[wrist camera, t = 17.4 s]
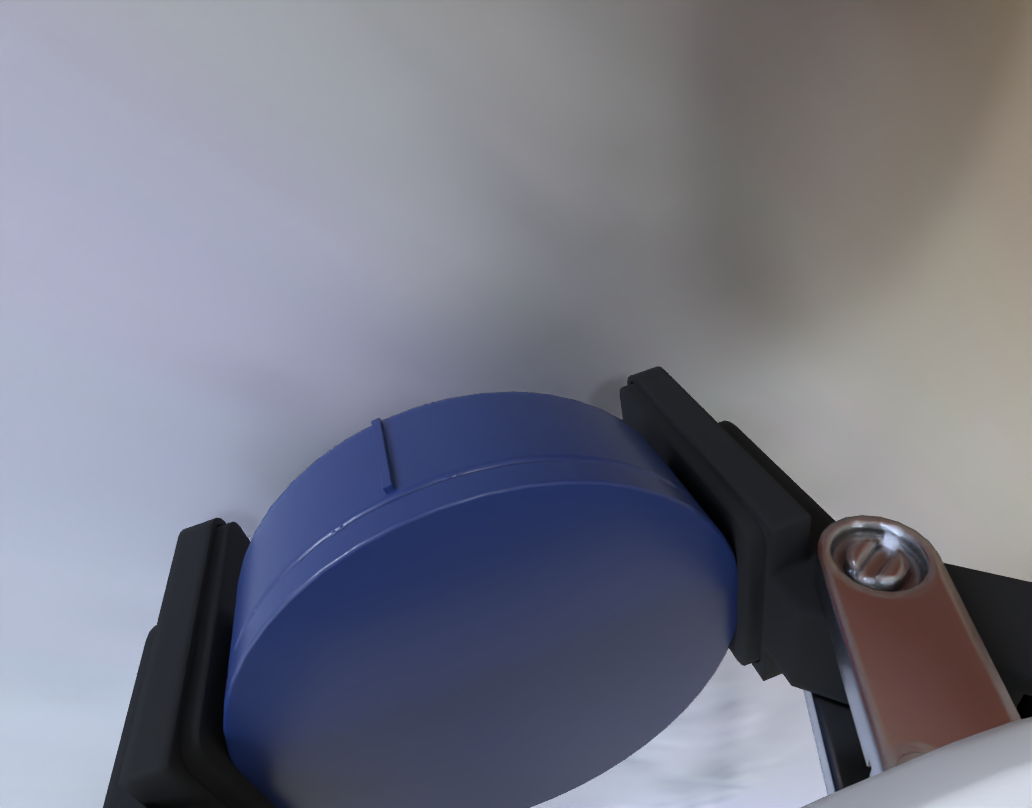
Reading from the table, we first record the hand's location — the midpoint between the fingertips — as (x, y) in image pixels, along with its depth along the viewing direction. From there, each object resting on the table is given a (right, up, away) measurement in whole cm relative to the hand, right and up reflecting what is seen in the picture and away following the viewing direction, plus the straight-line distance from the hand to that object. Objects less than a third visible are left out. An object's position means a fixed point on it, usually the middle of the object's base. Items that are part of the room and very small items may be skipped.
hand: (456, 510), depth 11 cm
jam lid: (+1, -2, -2) cm, 3 cm away
